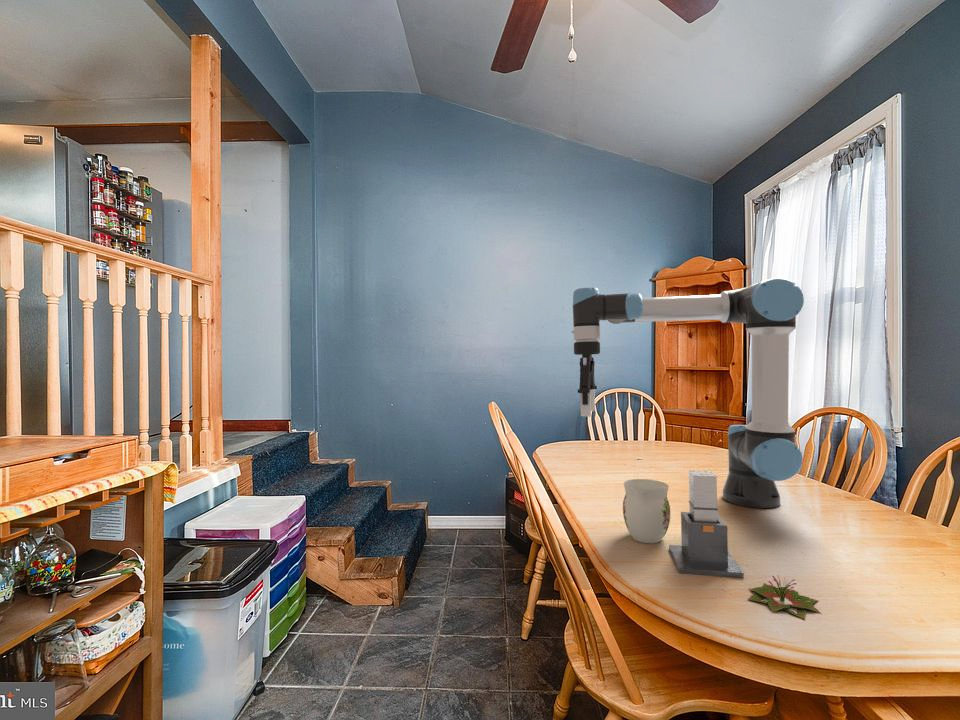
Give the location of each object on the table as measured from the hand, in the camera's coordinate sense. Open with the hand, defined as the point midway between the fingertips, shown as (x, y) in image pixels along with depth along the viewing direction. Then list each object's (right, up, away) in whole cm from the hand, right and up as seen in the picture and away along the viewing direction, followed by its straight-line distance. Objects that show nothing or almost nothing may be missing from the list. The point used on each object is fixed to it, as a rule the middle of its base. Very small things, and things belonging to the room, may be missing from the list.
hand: (588, 413), depth 137 cm
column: (+16, -27, -37) cm, 48 cm away
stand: (+16, -28, -37) cm, 49 cm away
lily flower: (+23, -29, -53) cm, 64 cm away
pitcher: (+9, -28, -22) cm, 37 cm away
